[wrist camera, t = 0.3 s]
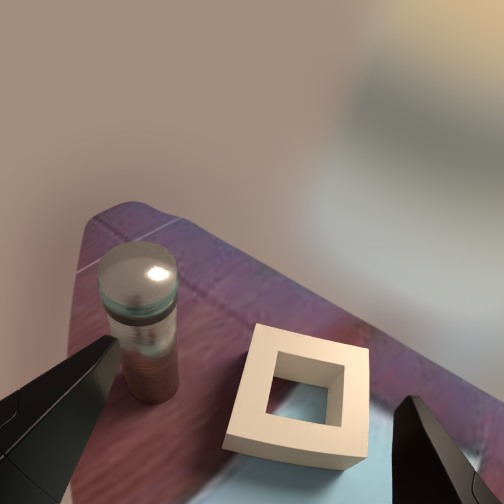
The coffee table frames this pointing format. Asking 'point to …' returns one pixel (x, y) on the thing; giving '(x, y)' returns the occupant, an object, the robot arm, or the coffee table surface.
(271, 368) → the docking block
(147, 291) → the cylinder
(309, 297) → the coffee table surface
